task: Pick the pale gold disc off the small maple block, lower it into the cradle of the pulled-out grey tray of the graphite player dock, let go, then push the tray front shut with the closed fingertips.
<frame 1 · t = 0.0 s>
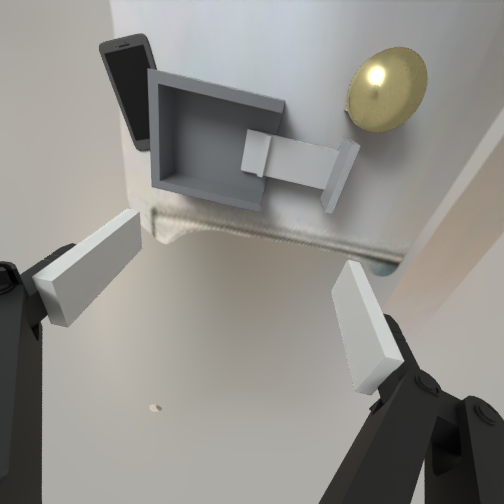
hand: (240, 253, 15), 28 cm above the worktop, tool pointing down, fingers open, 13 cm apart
cell phone: (143, 98, 37), on the worktop
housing: (223, 140, 38), on the worktop
disc: (382, 93, 28), point 5 cm above the worktop, touching pedestal
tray: (291, 165, 33), point 6 cm above the worktop, slide at 10.0 cm
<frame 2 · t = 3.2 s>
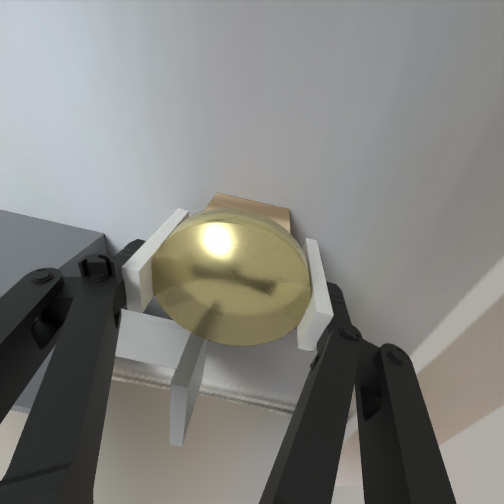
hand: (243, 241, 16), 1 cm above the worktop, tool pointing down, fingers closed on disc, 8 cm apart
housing: (31, 277, 23), on the worktop
disc: (234, 275, 13), point 5 cm above the worktop, touching gripper, pedestal
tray: (105, 360, 18), point 6 cm above the worktop, slide at 10.0 cm
pedestal: (246, 232, 18), on the worktop
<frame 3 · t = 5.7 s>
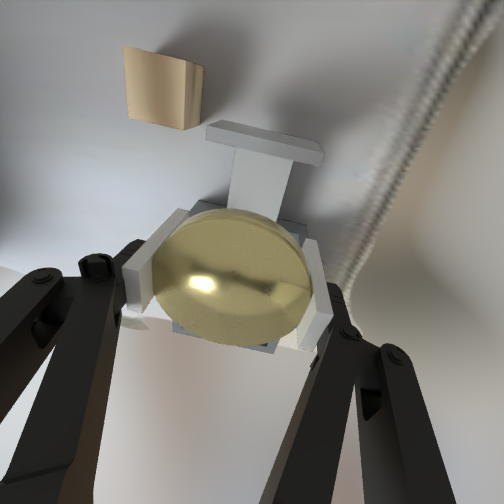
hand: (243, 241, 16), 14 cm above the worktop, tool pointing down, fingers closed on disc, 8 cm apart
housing: (241, 262, 35), on the worktop
disc: (234, 275, 13), point 18 cm above the worktop, touching gripper
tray: (251, 210, 24), point 6 cm above the worktop, slide at 10.0 cm
pedestal: (177, 91, 24), on the worktop
when the fingers open (2 cm above the worktop, at t = 8.2 s): disc drops 1 cm, resting on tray.
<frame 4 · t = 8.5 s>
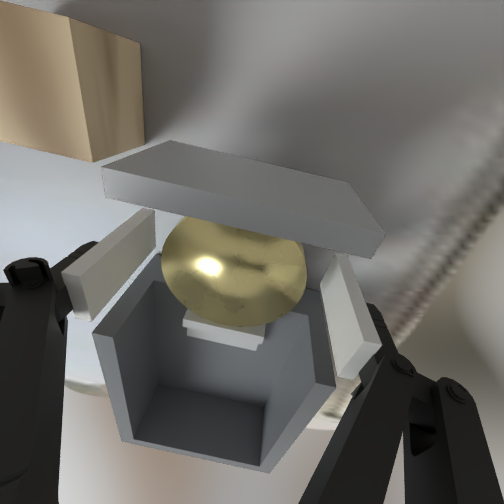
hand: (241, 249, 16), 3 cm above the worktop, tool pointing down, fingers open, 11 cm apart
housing: (225, 332, 25), on the worktop
disc: (237, 261, 15), point 4 cm above the worktop, touching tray
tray: (229, 298, 14), point 6 cm above the worktop, slide at 10.0 cm, touching disc
pedestal: (100, 88, 14), on the worktop
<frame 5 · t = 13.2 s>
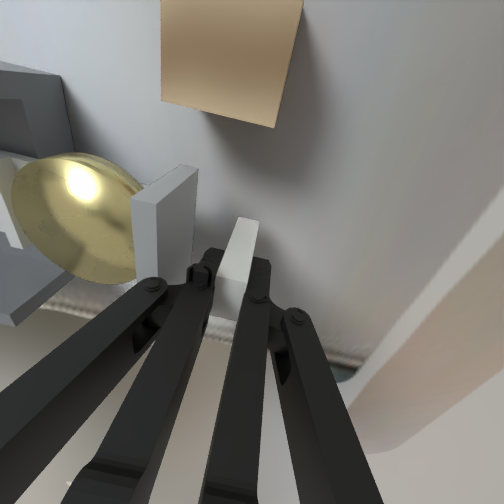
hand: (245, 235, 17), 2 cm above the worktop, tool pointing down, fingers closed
disc: (101, 219, 15), point 4 cm above the worktop, touching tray
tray: (57, 230, 14), point 6 cm above the worktop, slide at 10.0 cm, touching disc, gripper
pedestal: (244, 57, 13), on the worktop
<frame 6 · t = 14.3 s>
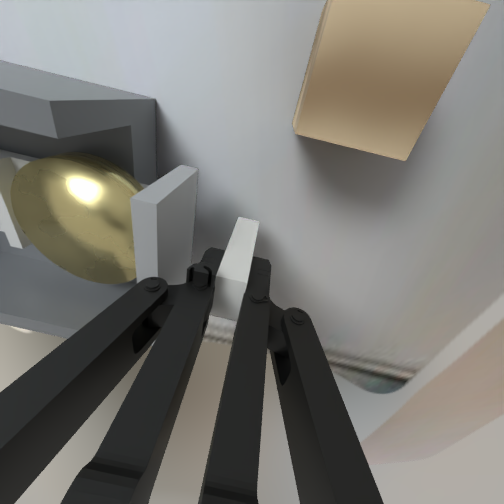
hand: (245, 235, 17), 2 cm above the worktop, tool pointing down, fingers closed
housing: (55, 179, 18), on the worktop
disc: (100, 219, 15), point 4 cm above the worktop, touching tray
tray: (57, 230, 14), point 6 cm above the worktop, slide at 4.0 cm, touching disc, gripper
pedestal: (349, 84, 13), on the worktop
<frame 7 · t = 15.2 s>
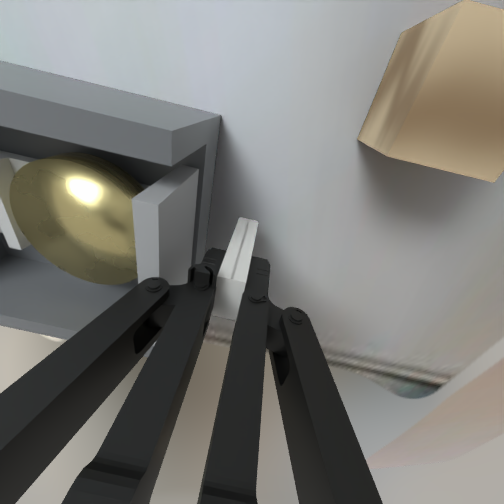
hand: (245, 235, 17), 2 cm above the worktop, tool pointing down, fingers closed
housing: (107, 192, 18), on the worktop
disc: (100, 219, 15), point 4 cm above the worktop, touching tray
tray: (56, 231, 13), point 6 cm above the worktop, slide at -0.1 cm, touching disc, gripper
pedestal: (419, 102, 13), on the worktop
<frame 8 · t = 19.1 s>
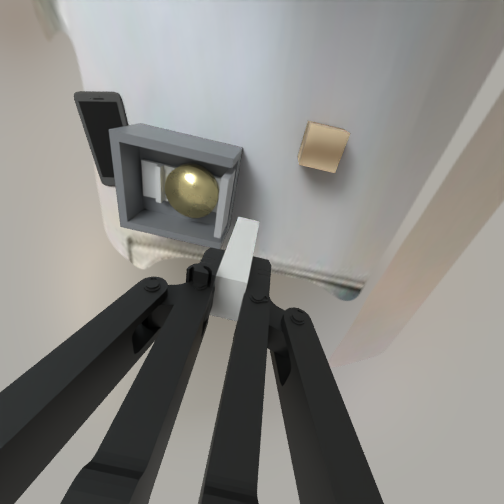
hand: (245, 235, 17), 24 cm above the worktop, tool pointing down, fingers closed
cell phone: (113, 142, 39), on the worktop
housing: (189, 180, 41), on the worktop
disc: (194, 190, 37), point 4 cm above the worktop, touching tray
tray: (181, 193, 36), point 6 cm above the worktop, slide at 0.0 cm, touching disc
pedestal: (319, 143, 35), on the worktop
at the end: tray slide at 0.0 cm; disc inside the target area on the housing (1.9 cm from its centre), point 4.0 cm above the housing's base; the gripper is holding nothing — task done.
